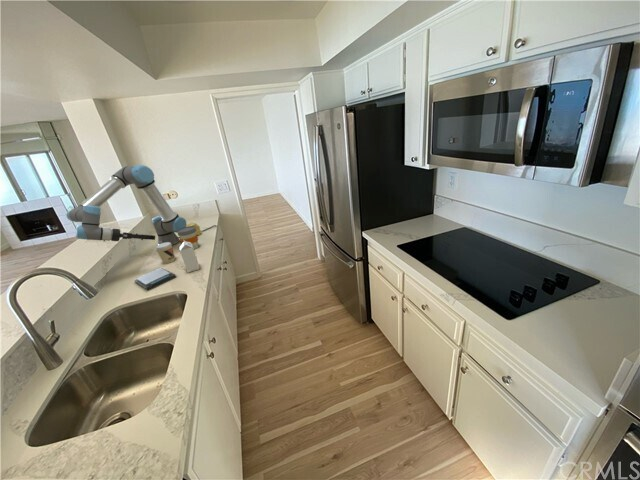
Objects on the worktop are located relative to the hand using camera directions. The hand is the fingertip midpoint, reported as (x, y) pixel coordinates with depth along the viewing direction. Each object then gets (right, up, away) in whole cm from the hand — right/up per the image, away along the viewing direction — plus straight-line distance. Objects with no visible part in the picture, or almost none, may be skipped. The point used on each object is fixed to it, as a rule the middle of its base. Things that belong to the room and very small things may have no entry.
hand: (152, 237), depth 173 cm
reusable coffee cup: (+14, -7, +26) cm, 30 cm away
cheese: (+2, +2, +50) cm, 51 cm away
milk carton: (+31, -20, -7) cm, 37 cm away
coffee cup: (+7, -16, +8) cm, 19 cm away
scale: (+12, -25, -16) cm, 32 cm away
